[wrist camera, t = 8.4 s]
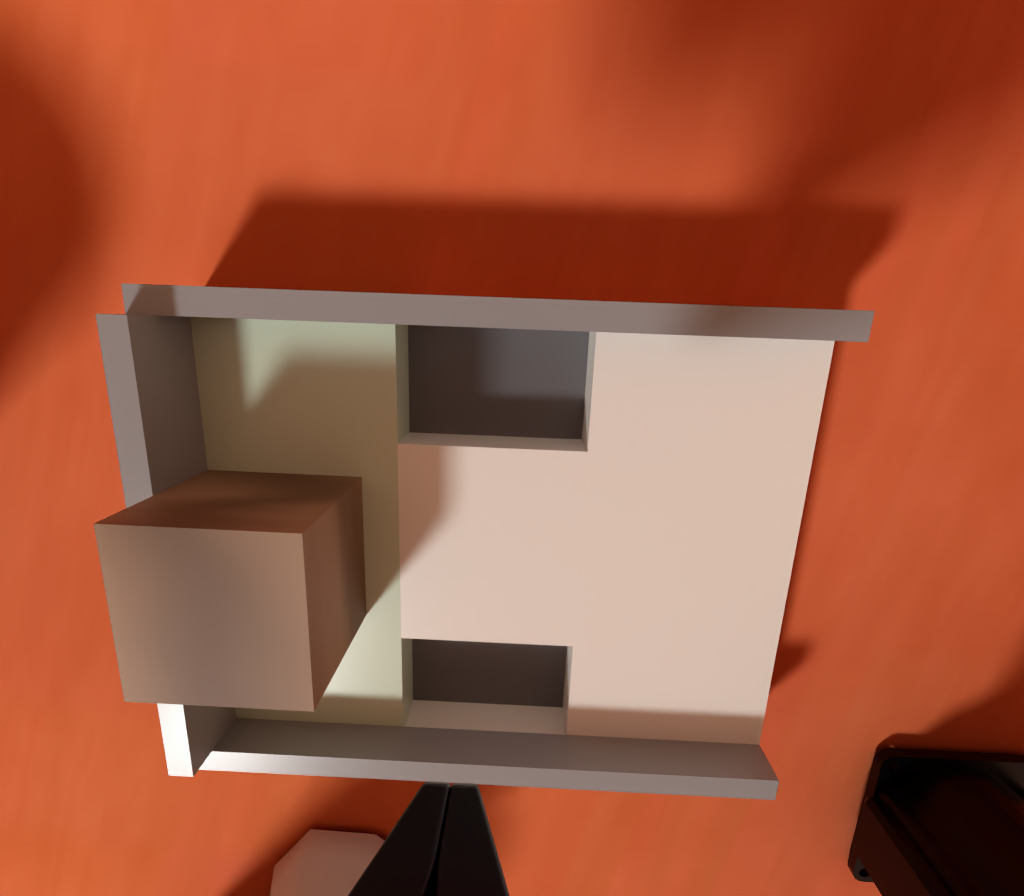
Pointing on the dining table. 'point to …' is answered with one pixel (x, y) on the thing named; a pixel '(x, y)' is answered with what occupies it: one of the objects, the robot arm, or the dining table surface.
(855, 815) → the dining table surface
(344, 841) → the flask
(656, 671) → the box
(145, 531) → the walnut block
